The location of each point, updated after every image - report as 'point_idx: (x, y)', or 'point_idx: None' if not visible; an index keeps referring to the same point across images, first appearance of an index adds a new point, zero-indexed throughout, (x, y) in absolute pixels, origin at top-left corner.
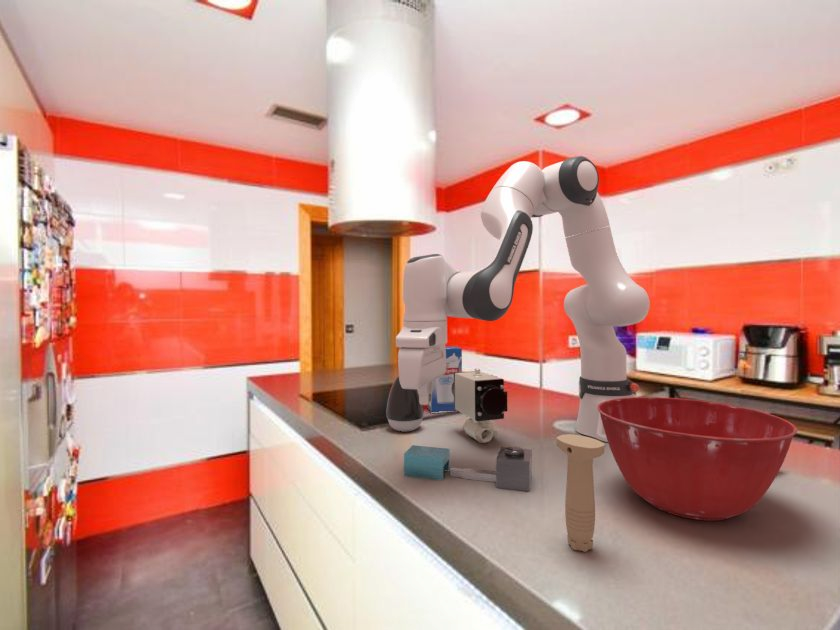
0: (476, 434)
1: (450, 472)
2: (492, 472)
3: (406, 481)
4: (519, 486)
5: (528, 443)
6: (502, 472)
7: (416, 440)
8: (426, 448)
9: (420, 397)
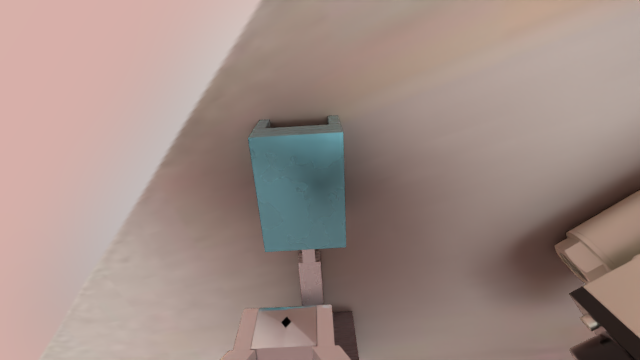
0: (579, 242)
1: None
2: None
3: (226, 141)
4: None
5: (567, 328)
6: None
7: (594, 28)
8: (324, 187)
9: (237, 346)
